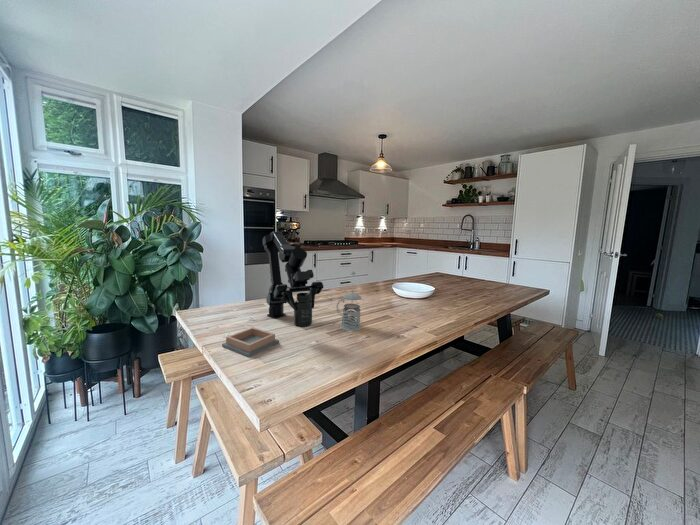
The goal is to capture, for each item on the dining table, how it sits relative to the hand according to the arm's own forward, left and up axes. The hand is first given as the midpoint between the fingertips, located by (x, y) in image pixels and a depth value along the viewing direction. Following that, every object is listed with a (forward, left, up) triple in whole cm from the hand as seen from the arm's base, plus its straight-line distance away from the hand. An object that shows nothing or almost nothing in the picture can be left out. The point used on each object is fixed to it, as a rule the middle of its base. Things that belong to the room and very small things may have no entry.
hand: (304, 308), depth 106 cm
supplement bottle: (-1, -1, -7) cm, 7 cm away
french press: (-24, +5, -13) cm, 28 cm away
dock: (+13, -15, -13) cm, 23 cm away
